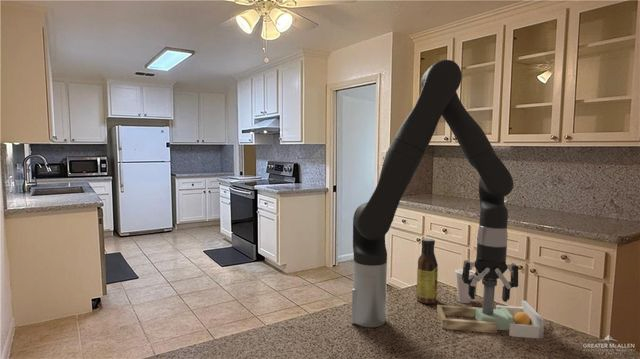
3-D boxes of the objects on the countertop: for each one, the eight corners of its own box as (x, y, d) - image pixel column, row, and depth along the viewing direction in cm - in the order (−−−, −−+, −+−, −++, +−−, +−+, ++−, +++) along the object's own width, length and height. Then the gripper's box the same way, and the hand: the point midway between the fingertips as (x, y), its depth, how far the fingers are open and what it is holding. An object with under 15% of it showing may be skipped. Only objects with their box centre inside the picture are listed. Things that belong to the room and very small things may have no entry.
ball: (530, 314, 106) (533, 328, 106) (525, 308, 110) (528, 322, 110) (515, 316, 107) (518, 330, 107) (510, 310, 111) (513, 324, 111)
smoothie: (476, 305, 122) (478, 261, 121) (454, 303, 124) (456, 260, 122) (472, 298, 129) (474, 256, 127) (452, 296, 130) (454, 254, 129)
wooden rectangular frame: (442, 328, 107) (442, 319, 106) (436, 312, 117) (437, 304, 117) (496, 332, 105) (497, 324, 104) (486, 316, 115) (486, 308, 115)
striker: (481, 328, 107) (483, 283, 106) (474, 317, 114) (477, 275, 112) (512, 330, 106) (515, 285, 105) (504, 319, 112) (507, 276, 111)
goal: (510, 336, 103) (511, 317, 102) (495, 315, 116) (496, 298, 115) (542, 338, 102) (544, 320, 101) (524, 317, 115) (525, 300, 114)
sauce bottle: (439, 304, 123) (441, 242, 121) (419, 304, 123) (421, 242, 121) (433, 296, 129) (435, 237, 127) (414, 296, 129) (416, 237, 127)
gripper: (468, 244, 105) (464, 302, 107) (524, 247, 103) (520, 307, 104) (462, 237, 113) (459, 292, 114) (514, 240, 110) (511, 296, 112)
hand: (488, 299), depth 109 cm, fingers open, 8 cm apart
